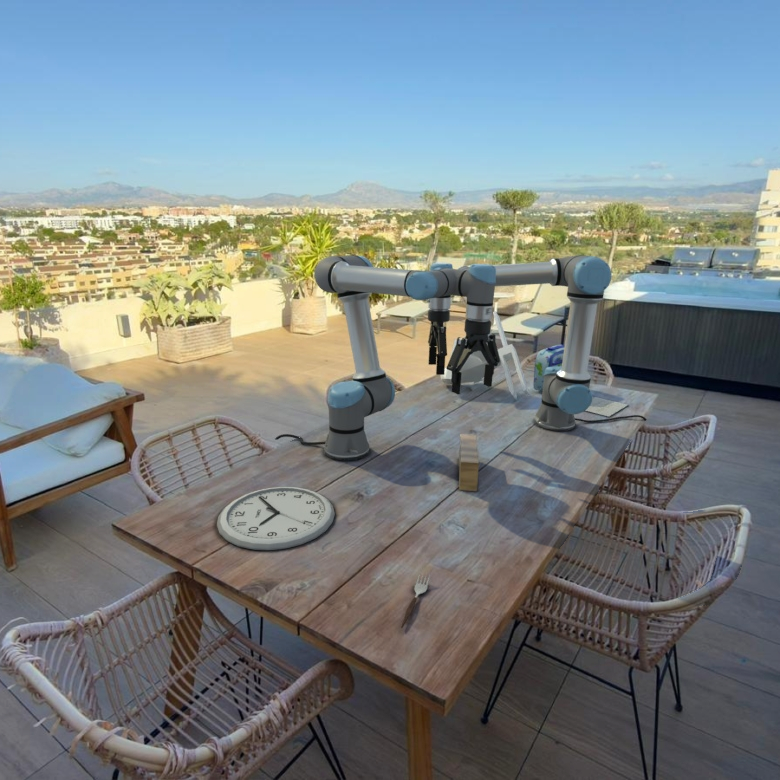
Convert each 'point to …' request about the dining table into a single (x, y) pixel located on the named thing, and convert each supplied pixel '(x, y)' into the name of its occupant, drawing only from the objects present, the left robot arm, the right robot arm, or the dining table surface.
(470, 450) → the bar
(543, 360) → the lunch box
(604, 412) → the invitation card
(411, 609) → the fork
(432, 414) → the dining table surface
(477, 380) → the white plastic object
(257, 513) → the wall clock
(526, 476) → the dining table surface
